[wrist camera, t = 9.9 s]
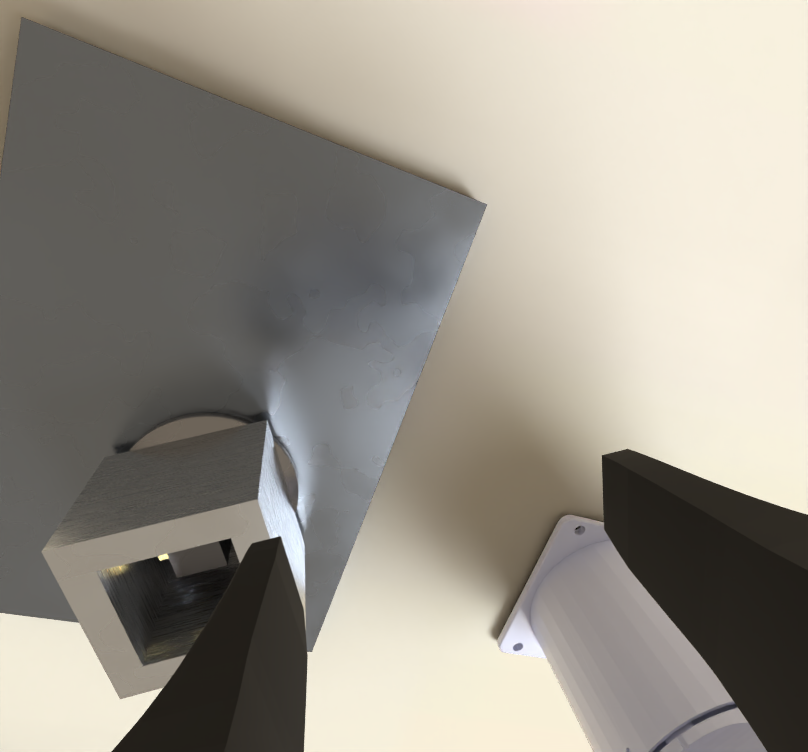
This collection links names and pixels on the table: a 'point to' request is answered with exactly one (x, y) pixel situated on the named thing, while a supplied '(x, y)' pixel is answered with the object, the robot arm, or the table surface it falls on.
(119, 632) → the collar
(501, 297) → the table surface
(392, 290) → the plate
